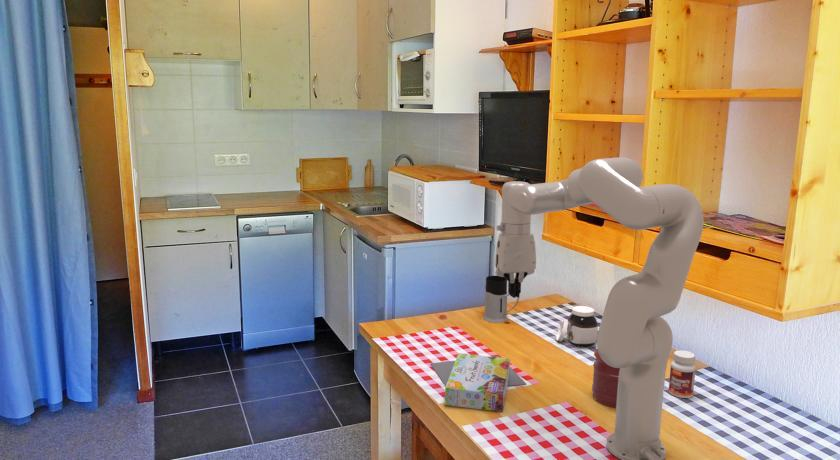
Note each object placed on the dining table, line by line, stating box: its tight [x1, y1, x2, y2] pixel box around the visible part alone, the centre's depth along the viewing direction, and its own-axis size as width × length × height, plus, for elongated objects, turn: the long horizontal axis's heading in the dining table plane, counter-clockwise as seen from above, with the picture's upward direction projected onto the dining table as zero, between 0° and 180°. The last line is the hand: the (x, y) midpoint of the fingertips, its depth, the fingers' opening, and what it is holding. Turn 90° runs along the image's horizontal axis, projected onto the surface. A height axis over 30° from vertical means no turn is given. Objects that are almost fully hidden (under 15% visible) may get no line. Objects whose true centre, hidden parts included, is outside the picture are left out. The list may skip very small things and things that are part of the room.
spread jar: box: [555, 305, 599, 348], centre depth 205 cm, size 12×11×12 cm
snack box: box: [444, 352, 511, 413], centre depth 170 cm, size 21×6×15 cm
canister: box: [591, 348, 620, 408], centre depth 166 cm, size 13×13×18 cm
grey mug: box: [482, 275, 520, 324], centre depth 225 cm, size 9×14×15 cm, turn 46°
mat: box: [429, 355, 527, 388], centre depth 182 cm, size 20×22×1 cm
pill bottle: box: [668, 350, 697, 399], centre depth 169 cm, size 6×6×11 cm
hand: (514, 296), depth 170 cm, fingers closed
